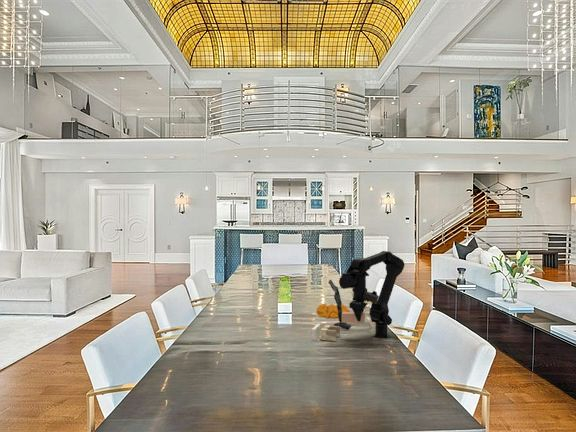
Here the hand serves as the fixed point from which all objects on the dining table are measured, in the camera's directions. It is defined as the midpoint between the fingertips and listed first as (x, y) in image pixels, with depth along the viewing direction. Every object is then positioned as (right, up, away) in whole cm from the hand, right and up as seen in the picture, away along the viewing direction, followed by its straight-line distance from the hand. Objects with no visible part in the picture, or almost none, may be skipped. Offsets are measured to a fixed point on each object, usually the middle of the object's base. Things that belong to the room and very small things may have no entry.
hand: (359, 320), depth 191 cm
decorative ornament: (-6, -10, +56) cm, 57 cm away
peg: (-3, -1, +1) cm, 3 cm away
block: (-13, -10, +5) cm, 17 cm away
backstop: (-20, -10, +7) cm, 23 cm away
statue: (-6, -10, +23) cm, 26 cm away
